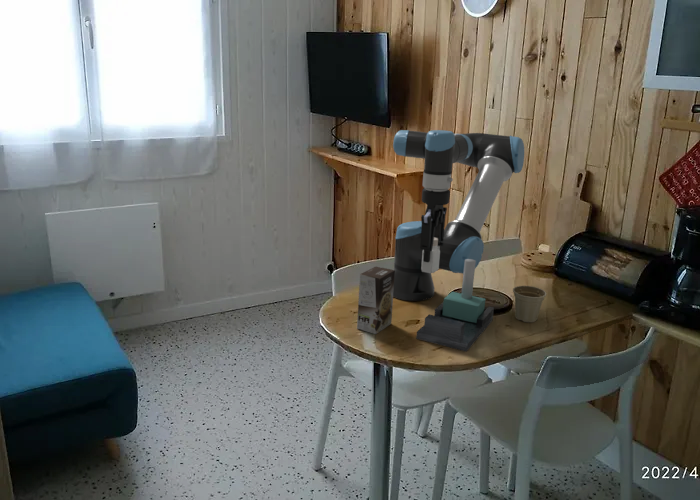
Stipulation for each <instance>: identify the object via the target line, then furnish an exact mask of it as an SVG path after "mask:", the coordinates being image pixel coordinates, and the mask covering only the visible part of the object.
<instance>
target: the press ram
mask: <svg viewBox="0 0 700 500" xmlns="http://www.w3.org/2000/svg"><path fill="white" fill-rule="evenodd" d="M475 263H476V261H475V260H473V259H465V263H464V273H463V274H462V284H461V292H460V293H459V292H456V291H451V292H450V293H449V294H447V296H445V297H444V298H443V301H442V303H443V313H442V315H444V316H448V317H452V318H456V319H460V320H465V321H469V322H473V323H477V319H478V318H479V317H480V316H481V314H482V313H483V312H484V311H485V307H486V298H483V297H479V296H474V295H473V288H474V282H475V281H474V280H475V271H476V268H475Z"/></svg>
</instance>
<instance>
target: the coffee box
mask: <svg viewBox="0 0 700 500" xmlns="http://www.w3.org/2000/svg"><path fill="white" fill-rule="evenodd" d="M394 276H395V270H394V269H390V268H387V267H380V266H373V267H372V268H370V269H367V270H365V271H363V272H362V273H359V285H358V286H359V288H358V290H359V291H358V307H357V319H356V320H357V322H356V329H357V330H362V331H364V332H366V333H367V332H368V333H371V334H373V335H377V334H379V333H380V332H381V331H383V330H384V329H386V328H387V327H388V326H390V325H391V324H392V322H393V321H392V318H393V306H394V305H393V304H394V303H393V301H394V297H393V290H394Z"/></svg>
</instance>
